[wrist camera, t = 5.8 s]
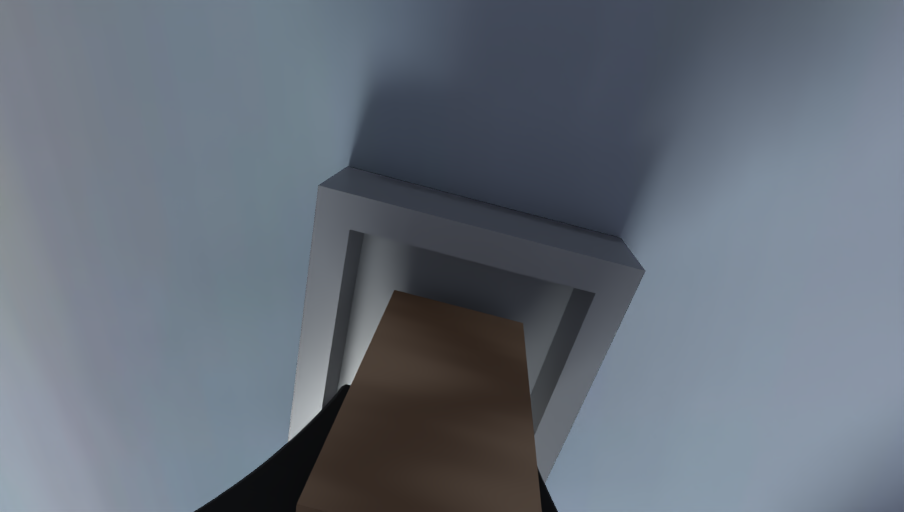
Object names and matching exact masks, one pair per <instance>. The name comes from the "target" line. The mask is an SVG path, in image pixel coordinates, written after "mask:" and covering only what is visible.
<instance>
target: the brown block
mask: <svg viewBox="0 0 904 512" xmlns="http://www.w3.org/2000/svg"><path fill="white" fill-rule="evenodd" d="M296 512H542V509H541V499H540V489H539V479H538V469H537V459H536V448H535V438H534V428H533V418H532V408H531V398H530V388H529V378H528V368H527V358H526V348H525V338H524V328H523V323H521V322H517V321H513V320H509V319H505V318H501V317H498V316H494V315H490V314H486V313H482V312H478V311H474V310H471V309H467V308H463V307H459V306H455V305H451V304H447V303H444V302H440V301H436V300H432V299H428V298H424V297H420V296H416V295H413V294H409V293H405V292H401V291H397V290H394V292H393V294H392V296H391V298H390V301H389V303H388V305H387V307H386V309H385V311H384V314H383V316H382V318H381V320H380V322H379V325H378V327H377V329H376V331H375V333H374V336H373V338H372V340H371V342H370V344H369V347H368V349H367V351H366V353H365V355H364V358H363V360H362V362H361V364H360V366H359V368H358V371H357V373H356V375H355V377H354V379H353V382H352V384H351V386H350V388H349V390H348V393H347V395H346V397H345V399H344V401H343V404H342V406H341V408H340V410H339V412H338V415H337V417H336V419H335V421H334V423H333V425H332V428H331V430H330V432H329V434H328V436H327V439H326V441H325V443H324V445H323V447H322V450H321V452H320V454H319V456H318V458H317V461H316V463H315V465H314V467H313V469H312V472H311V474H310V476H309V478H308V480H307V482H306V485H305V487H304V489H303V491H302V493H301V496H300V498H299V500H298V502H297V505H296Z"/></svg>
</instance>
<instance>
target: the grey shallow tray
mask: <svg viewBox="0 0 904 512" xmlns="http://www.w3.org/2000/svg"><path fill="white" fill-rule="evenodd" d="M644 273H645V270H644V268H643V267H642V266H641V264H640V263H639V262H638V260H637V259H636V258H635V256H634V255H633V254H632V252H631V251H630V250H629V248H628V247H627V246H626V244H625V243H624V242H623V240H622V239H621V238H618V237H615V236H611V235H607V234H603V233H599V232H596V231H592V230H588V229H584V228H580V227H577V226H573V225H569V224H565V223H561V222H557V221H554V220H550V219H546V218H542V217H538V216H535V215H531V214H527V213H523V212H519V211H516V210H512V209H508V208H504V207H500V206H496V205H493V204H489V203H485V202H481V201H477V200H474V199H470V198H466V197H462V196H458V195H455V194H451V193H447V192H443V191H439V190H435V189H432V188H428V187H424V186H420V185H416V184H413V183H409V182H405V181H401V180H397V179H394V178H390V177H386V176H382V175H378V174H374V173H371V172H367V171H363V170H359V169H355V168H352V167H346V168H345V169H343V170H341V171H340V172H338V173H337V174H335V175H334V176H332V177H331V178H329V179H327V180H326V181H324V182H323V183H321V184H320V185H318V192H317V201H316V209H315V218H314V226H313V234H312V243H311V251H310V260H309V268H308V276H307V285H306V293H305V302H304V310H303V318H302V327H301V335H300V344H299V352H298V360H297V369H296V377H295V386H294V394H293V403H292V411H291V419H290V428H289V436H288V442H289V441H290V440H291V439H292V438H293V437H294V436H296V435H297V434H298V433H299V432H300V431H301V430H302V429H303V428H304V427H305V426H306V425H307V424H308V423H309V422H310V421H311V420H312V419H313V418H314V417H315V416H316V415H317V414H318V413H319V412H320V411H321V410H322V409H323V408H324V407H325V406H326V405H327V403H328V402H329V401H330V400H331V399H332V398H333V397H334V395H335V394H336V393H337V392H338V391H339V389H340V388H341V387H342V386H343V385H345V384H348V385H351V384H352V382H353V379H354V377H355V375H356V373H357V371H358V368H359V366H360V364H361V362H362V360H363V358H364V355H365V353H366V351H367V349H368V347H369V344H370V342H371V340H372V338H373V336H374V333H375V331H376V329H377V327H378V325H379V322H380V320H381V318H382V316H383V314H384V311H385V309H386V307H387V305H388V303H389V301H390V298H391V296H392V294H393V292H394V290H397V291H401V292H405V293H409V294H413V295H416V296H420V297H424V298H428V299H432V300H436V301H440V302H444V303H447V304H451V305H455V306H459V307H463V308H467V309H471V310H474V311H478V312H482V313H486V314H490V315H494V316H498V317H501V318H505V319H509V320H513V321H517V322H521V323H523V328H524V338H525V348H526V358H527V368H528V378H529V388H530V398H531V408H532V418H533V428H534V438H535V448H536V459H537V467H538V469H539V471H540V474H541V476H542V478H543V481H544V483H545V482H546V480H547V478H548V476H549V474H550V472H551V470H552V468H553V465H554V463H555V461H556V459H557V457H558V455H559V453H560V451H561V449H562V446H563V444H564V442H565V440H566V438H567V436H568V434H569V432H570V429H571V427H572V425H573V423H574V421H575V419H576V417H577V415H578V413H579V410H580V408H581V406H582V404H583V402H584V400H585V398H586V396H587V394H588V391H589V389H590V387H591V385H592V383H593V381H594V379H595V377H596V374H597V372H598V370H599V368H600V366H601V364H602V362H603V360H604V358H605V355H606V353H607V351H608V349H609V347H610V345H611V343H612V341H613V339H614V336H615V334H616V332H617V330H618V328H619V326H620V324H621V322H622V320H623V317H624V315H625V313H626V311H627V309H628V307H629V305H630V303H631V300H632V298H633V296H634V294H635V292H636V290H637V288H638V286H639V284H640V281H641V279H642V277H643V275H644Z"/></svg>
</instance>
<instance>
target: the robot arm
mask: <svg viewBox="0 0 904 512" xmlns="http://www.w3.org/2000/svg"><path fill="white" fill-rule="evenodd" d="M350 386H351V385H348V384H345V385H343V386H342V387H341V388H340V389H339V391H338V392H337V393H336V394H335V395H334V397H333V398H332V399H331V400H330V401H329V402H328V403H327V405H326V406H325V407H324V408H323V409H322V410H321V411H320V412H319V413H318V414H317V415H316V416H315V417H314V418H313V419H312V420H311V421H310V422H309V423H308V424H307V425H306V426H305V427H304V428H303V429H302V430H301V431H300V432H299V433H298V434H297V435H296V436H294V437H293V438H292V439H291V440H290V441H289V442H288V443H287V444H285V445H284V446H283V447H282V448H281V449H280V450H278V451H277V452H276V453H275V454H274V455H273V456H272V457H270V458H269V459H268V460H267V461H265V462H264V463H263V464H262V465H260V466H259V467H258V468H257V469H255V470H254V471H253V472H251V473H250V474H249V475H247V476H246V477H245V478H243V479H242V480H241V481H239V482H238V483H236V484H235V485H234V486H232V487H231V488H229V489H228V490H226V491H225V492H223V493H222V494H220V495H219V496H218V497H216V498H215V499H213V500H212V501H210V502H208V503H207V504H205V505H204V506H202V507H201V508H199V509H198V510H196V511H194V512H296V505H297V502H298V500H299V498H300V496H301V493H302V491H303V489H304V487H305V485H306V482H307V480H308V478H309V476H310V474H311V472H312V469H313V467H314V465H315V463H316V461H317V458H318V456H319V454H320V452H321V450H322V447H323V445H324V443H325V441H326V439H327V436H328V434H329V432H330V430H331V428H332V425H333V423H334V421H335V419H336V417H337V415H338V412H339V410H340V408H341V406H342V404H343V401H344V399H345V397H346V395H347V393H348V390H349V388H350ZM537 469H538V467H537ZM538 479H539V489H540V499H541V509H542V512H558V511H557V509H556V507H555V505H554V503H553V501H552V498H551V496H550V494H549V492H548V490H547V487H546V485H545V483H544V481H543V478H542V476H541V474H540V471H539V469H538Z"/></svg>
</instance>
